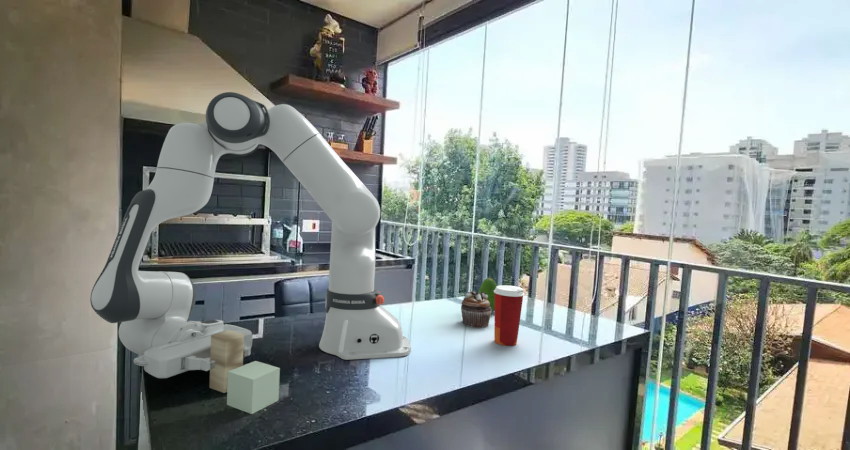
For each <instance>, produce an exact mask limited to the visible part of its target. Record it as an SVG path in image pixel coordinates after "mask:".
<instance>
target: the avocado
mask: <svg viewBox="0 0 850 450" xmlns="http://www.w3.org/2000/svg"><path fill="white" fill-rule="evenodd" d="M496 286H498V284H497V282H496V281H495V280H494V279H493V278H491V277H487V278H485V279H484V280H483V281H482V282H481V285H480V287H479V289H478V292H477V293H481V292H485V293H486V295H488V298H487V300H488V301H489V302H490V307H491V309H492V312H495V293H494V290H495V288H496Z"/></svg>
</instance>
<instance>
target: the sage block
mask: <svg viewBox="0 0 850 450" xmlns="http://www.w3.org/2000/svg"><path fill="white" fill-rule="evenodd" d="M280 371H281V368H280V367H277V366H275V365H271V364H269V363H265V362H261V361H258V360H254V361H251V362H249V363H246V364H243V366H241V367H238V368H235V369H233V370H230V371H228V387H227V392H226V393H227V394H226V406H229V407H231V408H234V409H237V410H240V411H242V412H245V413H248V414H250V415H253V414H255V413H257V412H258V411H260V410H263V409H265V408H267V407H269V406H270V405H272V404H275V403H277V402H278V401H279V398H280V397H279V395H280V393H279V392H280V376H281V375H280V373H281V372H280Z"/></svg>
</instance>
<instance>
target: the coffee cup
mask: <svg viewBox="0 0 850 450" xmlns="http://www.w3.org/2000/svg"><path fill="white" fill-rule="evenodd" d="M494 293H495V310H494V325H493V326H494V329H493V331H494V336H493V338H494V343H495V344H498V345H500V346H507V347H513V346H516V345H517V342H518V338H519V331H520V329H519V328H520V323H521V322H520V321H521V316H522V315H521V314H522V307H523V300H524V296H525V293H524V289H523V288H522V287H520V286H515V285H500V284H499V285H497V286H496V288H495V290H494Z"/></svg>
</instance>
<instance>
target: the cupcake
mask: <svg viewBox="0 0 850 450" xmlns="http://www.w3.org/2000/svg"><path fill="white" fill-rule="evenodd" d="M487 298H488V295H486V293H485V292H481V293H478V292H476V291H475V290H471V291H468V292H467V293H465V295H464V297H463V299H462V301H461V306H460V310H461V311H460V312H461V318H462V324H463V325H465V326H467V327H470V328H477V329H481V328H486V327H487V328H488V326H489V323H490V319H491V315H492V312H493V311H492V309H491V307H490V302H489V301H488V300H487Z"/></svg>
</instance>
